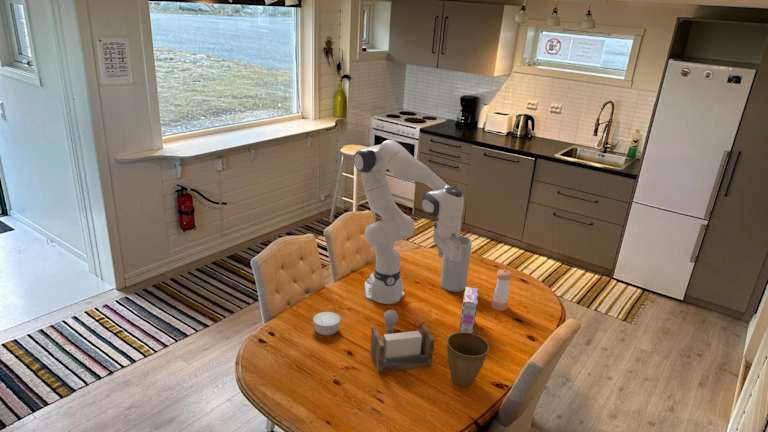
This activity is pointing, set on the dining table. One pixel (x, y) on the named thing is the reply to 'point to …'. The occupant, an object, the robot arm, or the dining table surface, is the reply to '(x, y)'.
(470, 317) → the candy box
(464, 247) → the cylinder vase
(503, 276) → the salt shaker
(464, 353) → the plant pot
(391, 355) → the door panel
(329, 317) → the ramekin
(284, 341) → the dining table surface
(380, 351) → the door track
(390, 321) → the lightbulb
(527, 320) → the dining table surface
